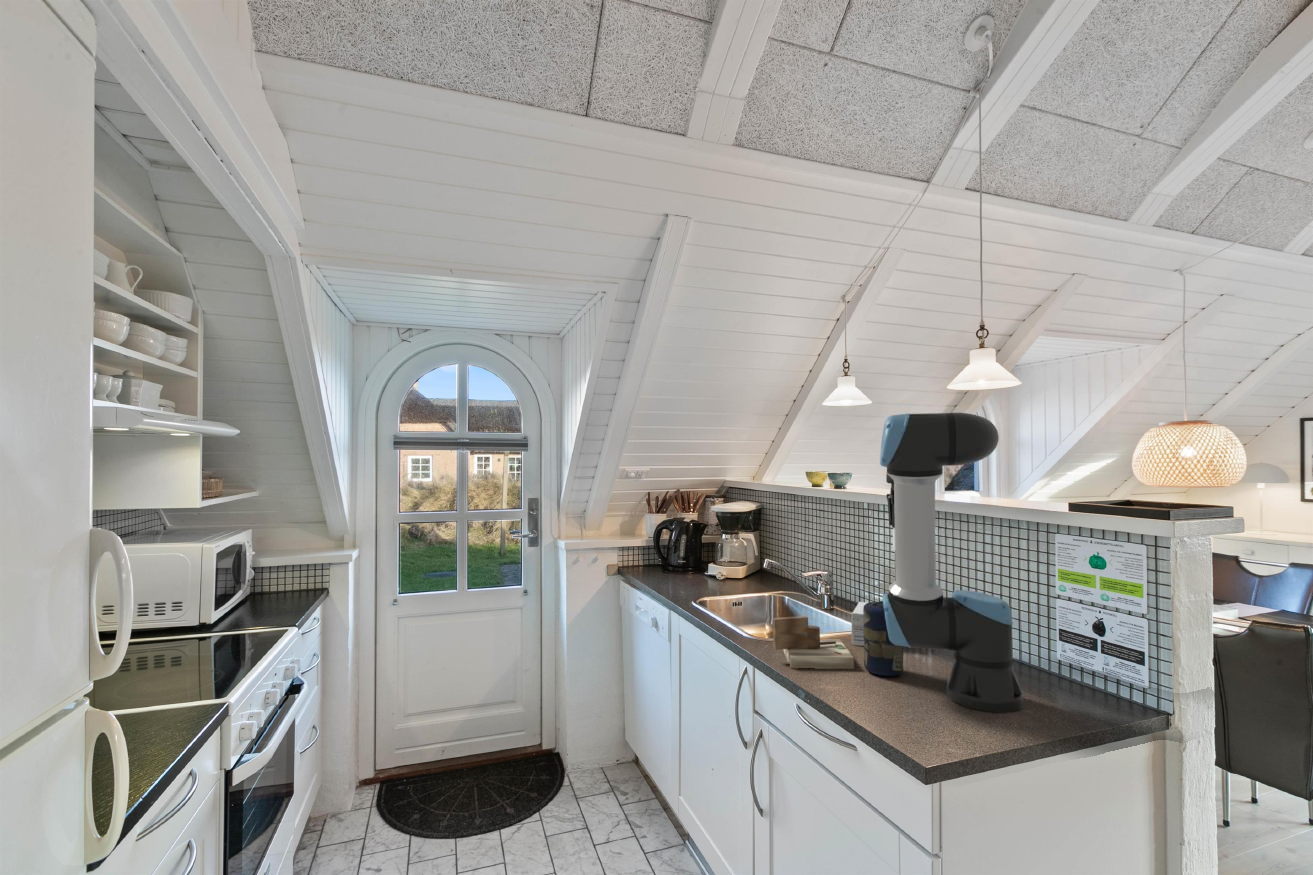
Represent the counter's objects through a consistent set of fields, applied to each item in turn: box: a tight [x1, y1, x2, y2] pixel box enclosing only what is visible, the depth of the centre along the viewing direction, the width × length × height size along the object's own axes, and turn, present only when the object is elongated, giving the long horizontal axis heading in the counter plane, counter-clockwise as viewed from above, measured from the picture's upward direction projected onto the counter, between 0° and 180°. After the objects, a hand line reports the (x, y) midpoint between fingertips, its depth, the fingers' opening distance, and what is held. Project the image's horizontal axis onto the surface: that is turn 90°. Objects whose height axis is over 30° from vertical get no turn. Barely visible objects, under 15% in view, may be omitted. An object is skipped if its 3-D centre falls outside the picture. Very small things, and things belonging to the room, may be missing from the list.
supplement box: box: [850, 601, 869, 647], centre depth 185 cm, size 17×13×9 cm
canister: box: [863, 600, 905, 677], centre depth 157 cm, size 10×10×18 cm
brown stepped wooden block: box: [772, 615, 836, 651], centre depth 168 cm, size 18×4×8 cm, turn 101°
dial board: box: [782, 638, 855, 670], centre depth 168 cm, size 16×16×3 cm
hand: (898, 550), depth 181 cm, fingers closed
